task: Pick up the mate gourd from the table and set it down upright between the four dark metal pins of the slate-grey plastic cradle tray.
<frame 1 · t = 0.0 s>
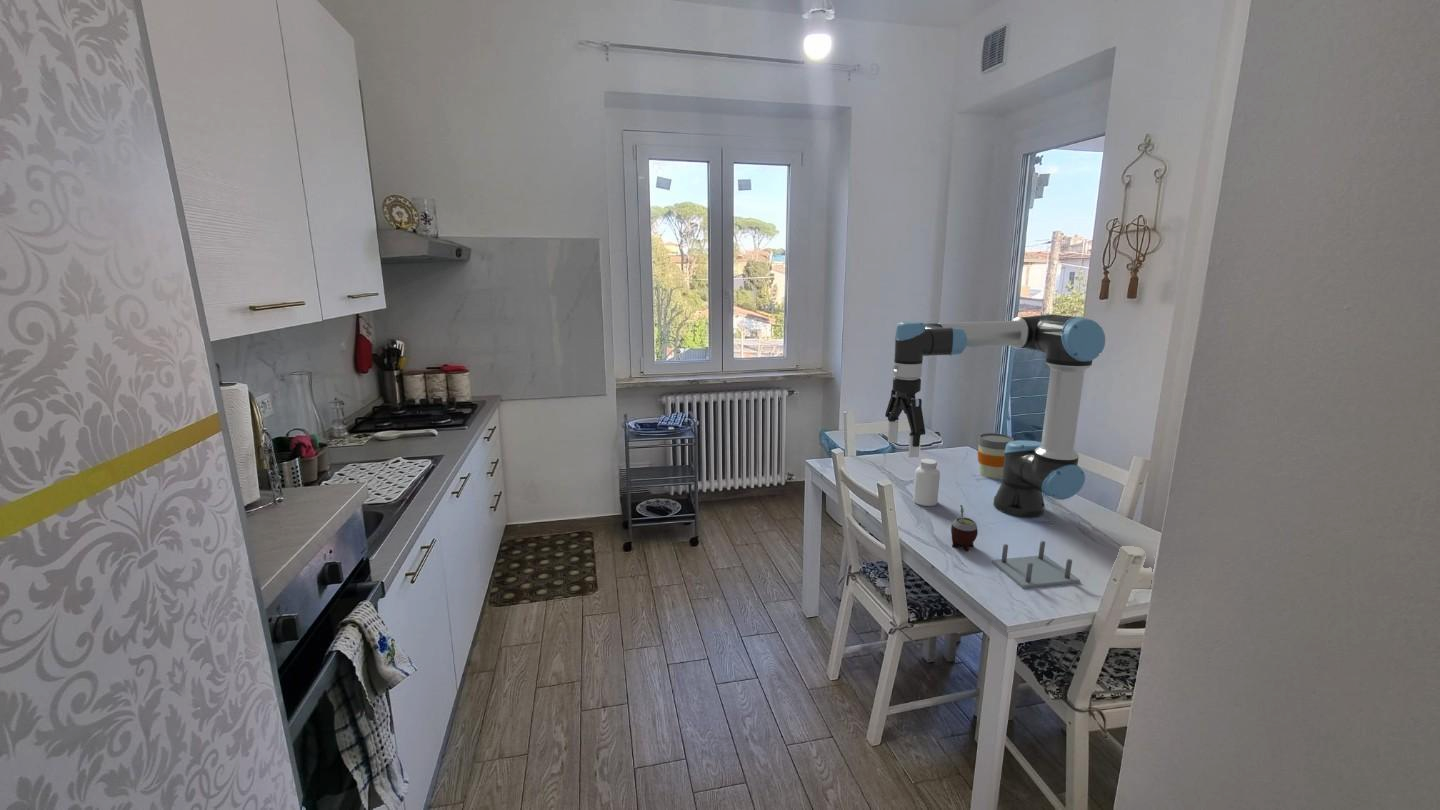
hand: (902, 449, 166), 28 cm above the table, tool pointing down, fingers open, 13 cm apart
cradle tray: (1034, 572, 153), on the table
reusable coffee cup: (992, 475, 222), on the table
mate gourd: (962, 547, 167), on the table
pill bottle: (925, 502, 198), on the table
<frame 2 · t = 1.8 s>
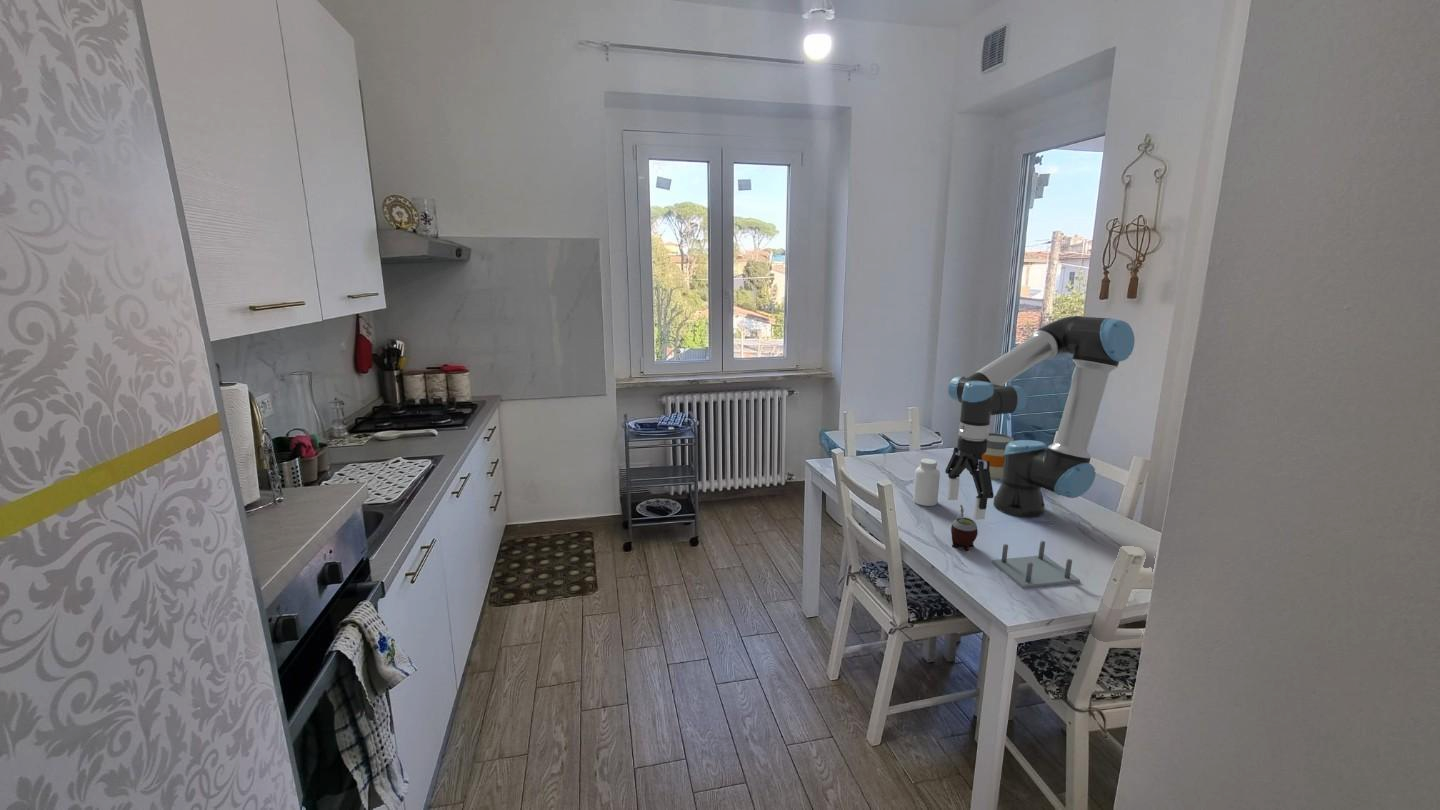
hand: (965, 508, 163), 12 cm above the table, tool pointing down, fingers open, 13 cm apart
nothing on the table moved.
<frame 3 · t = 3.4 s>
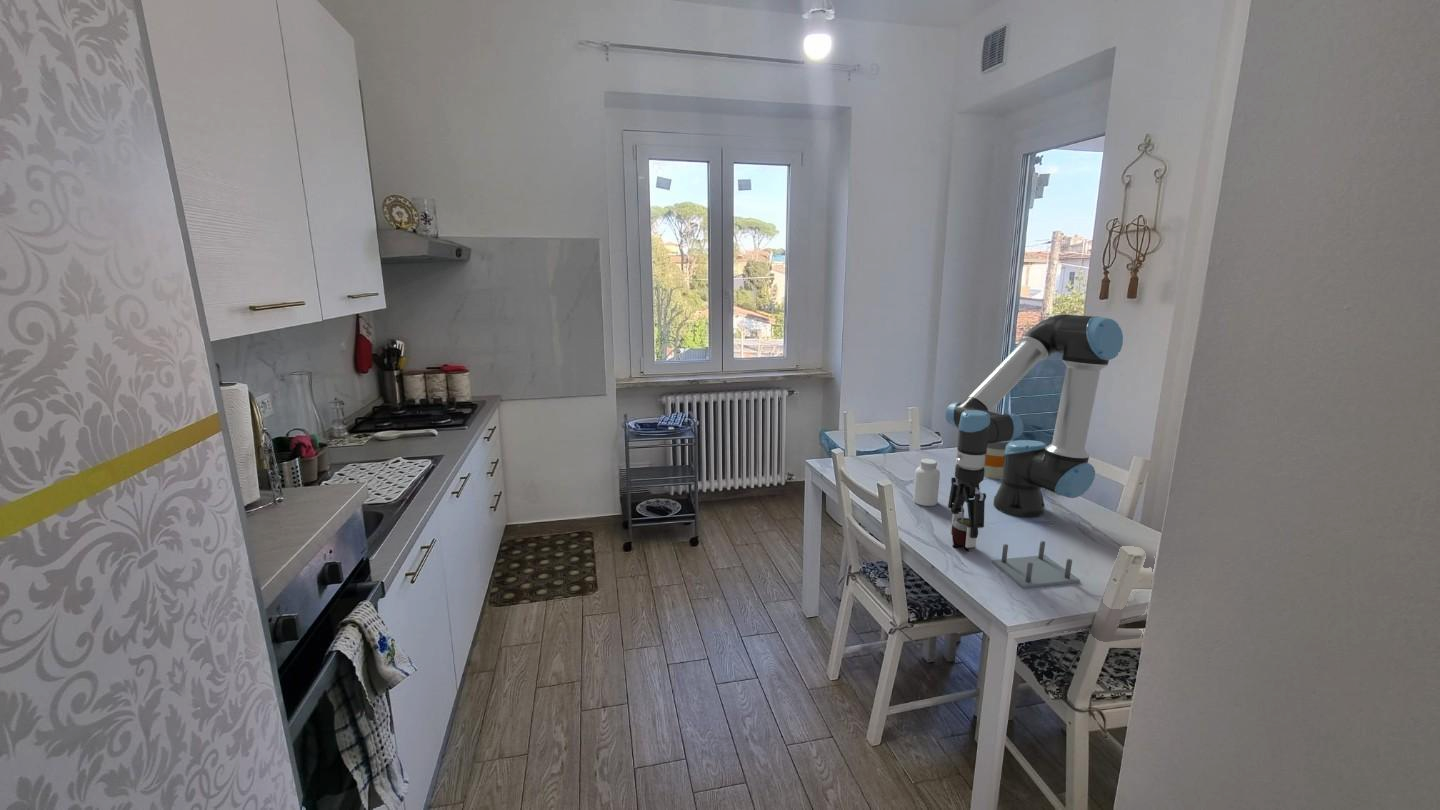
hand: (962, 540, 166), 2 cm above the table, tool pointing down, fingers closed on mate gourd, 7 cm apart
mate gourd: (963, 548, 166), on the table, touching gripper
everything else where it was.
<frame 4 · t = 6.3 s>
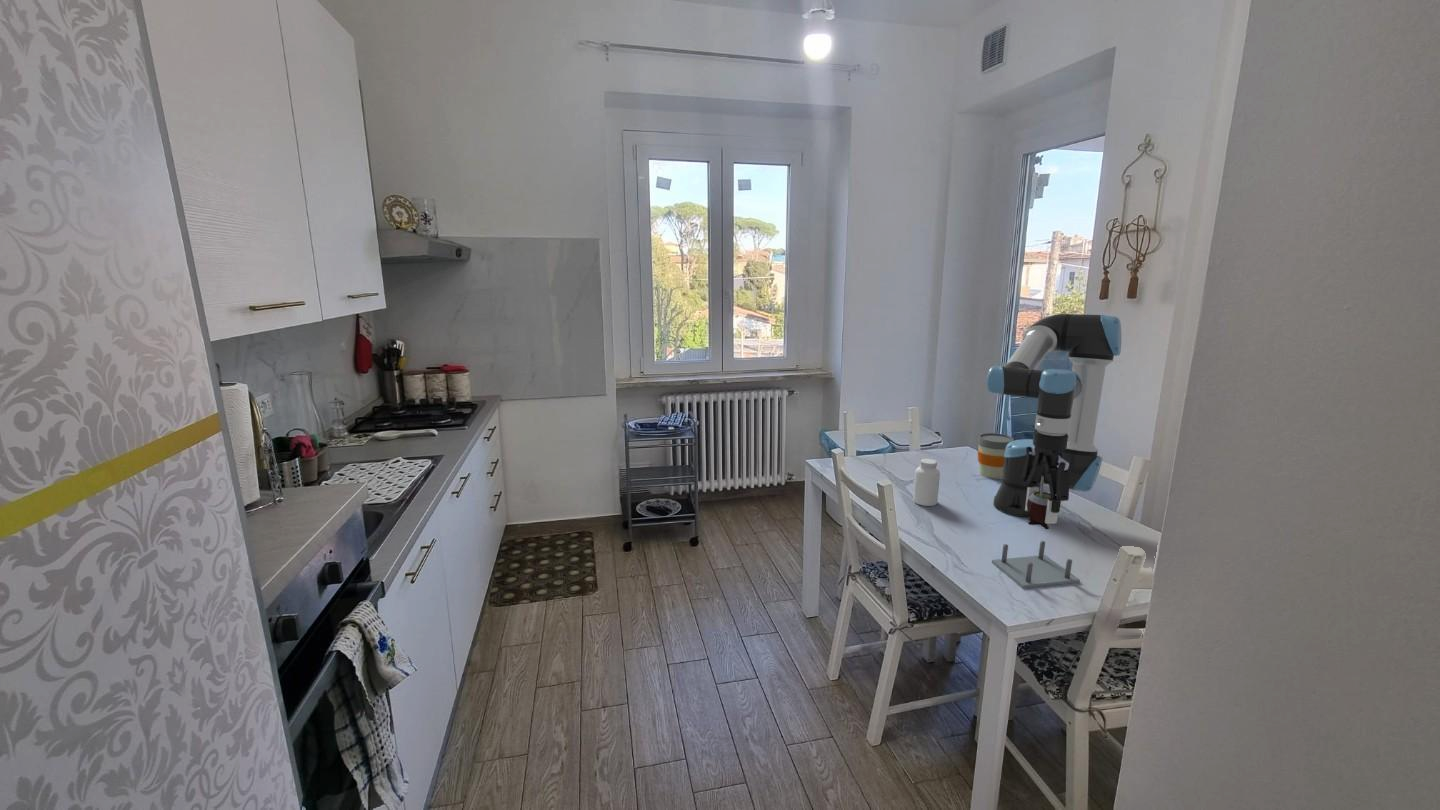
hand: (1040, 516, 149), 16 cm above the table, tool pointing down, fingers closed on mate gourd, 7 cm apart
mate gourd: (1040, 525, 149), point 14 cm above the table, touching gripper
everything else where it was.
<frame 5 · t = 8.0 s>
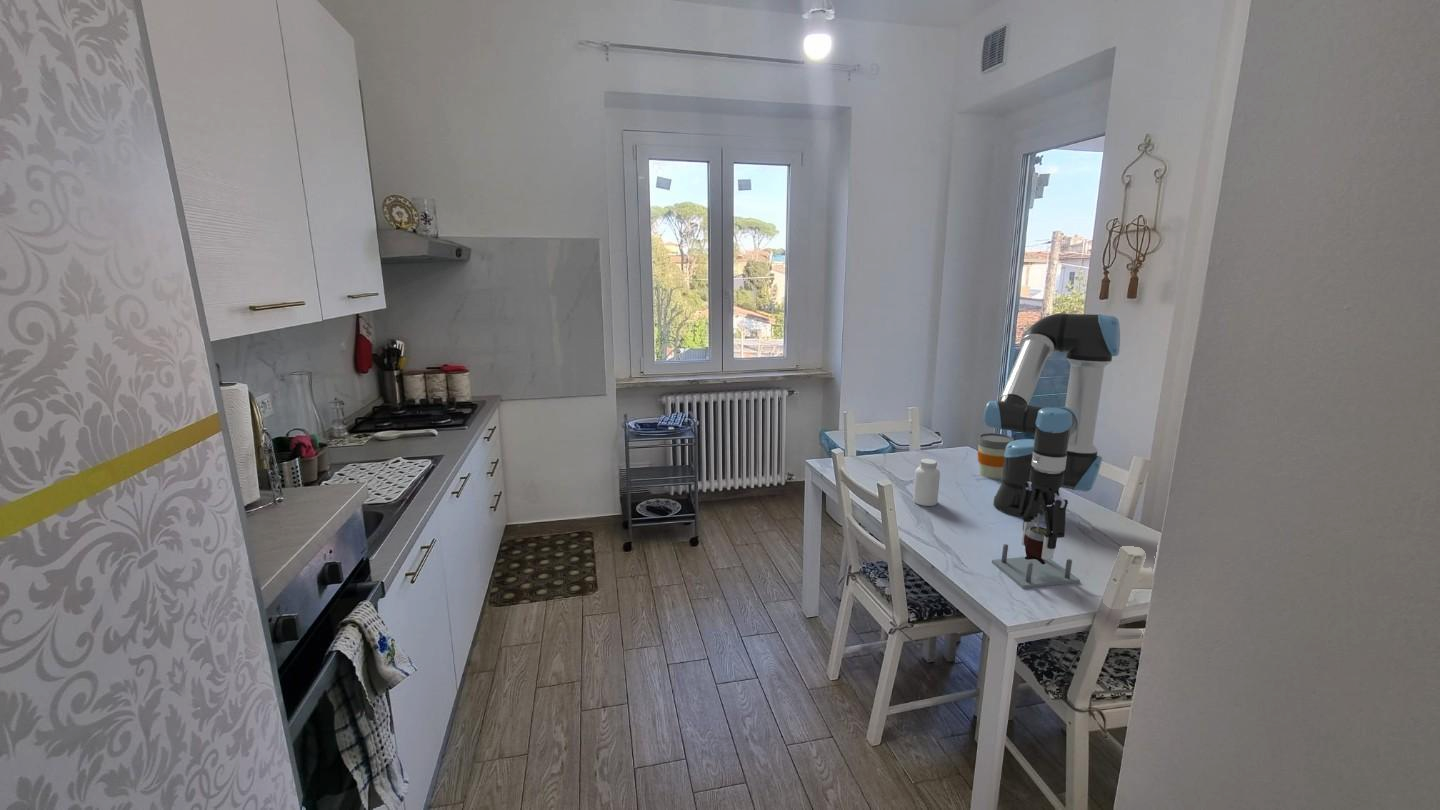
hand: (1036, 551, 151), 6 cm above the table, tool pointing down, fingers closed on mate gourd, 7 cm apart
mate gourd: (1036, 559, 151), point 4 cm above the table, touching gripper
everything else where it was.
when the fingers open (5 cm above the table, at t = 9.2 s): mate gourd drops 2 cm, resting on cradle tray.
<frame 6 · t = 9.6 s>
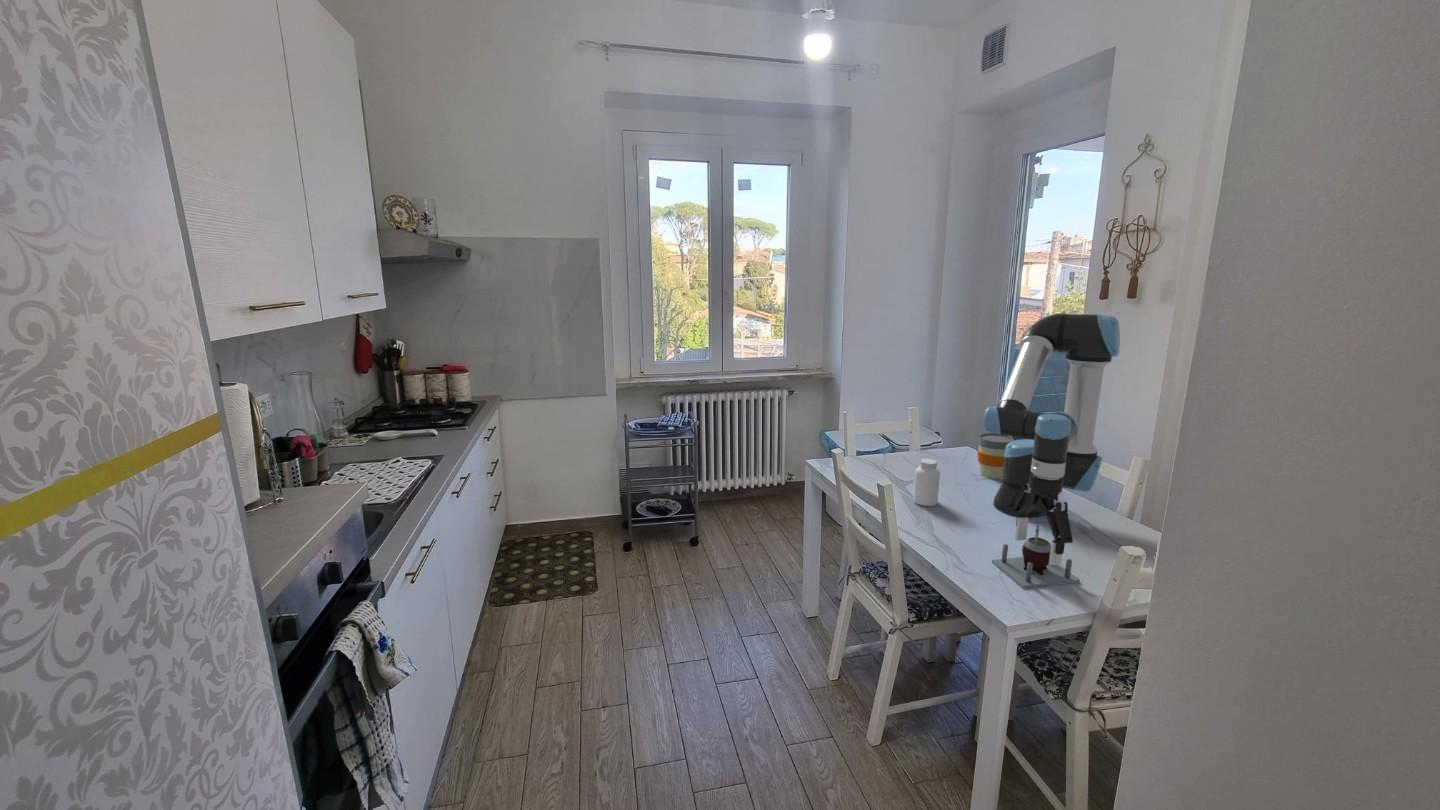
hand: (1036, 551, 151), 6 cm above the table, tool pointing down, fingers open, 13 cm apart
mate gourd: (1035, 570, 152), point 1 cm above the table, touching cradle tray
everything else where it was.
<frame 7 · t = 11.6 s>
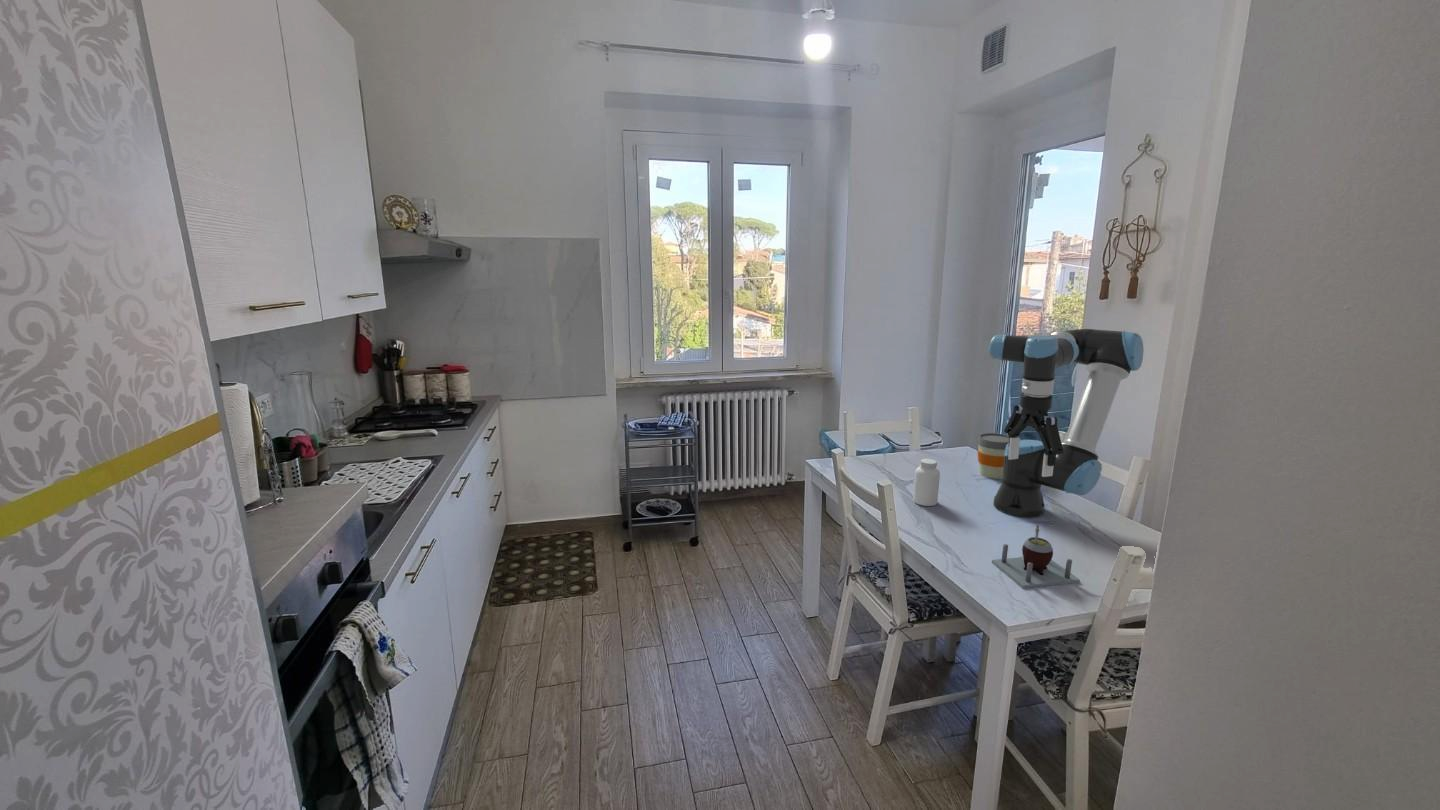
hand: (1029, 467, 161), 24 cm above the table, tool pointing down, fingers open, 13 cm apart
nothing on the table moved.
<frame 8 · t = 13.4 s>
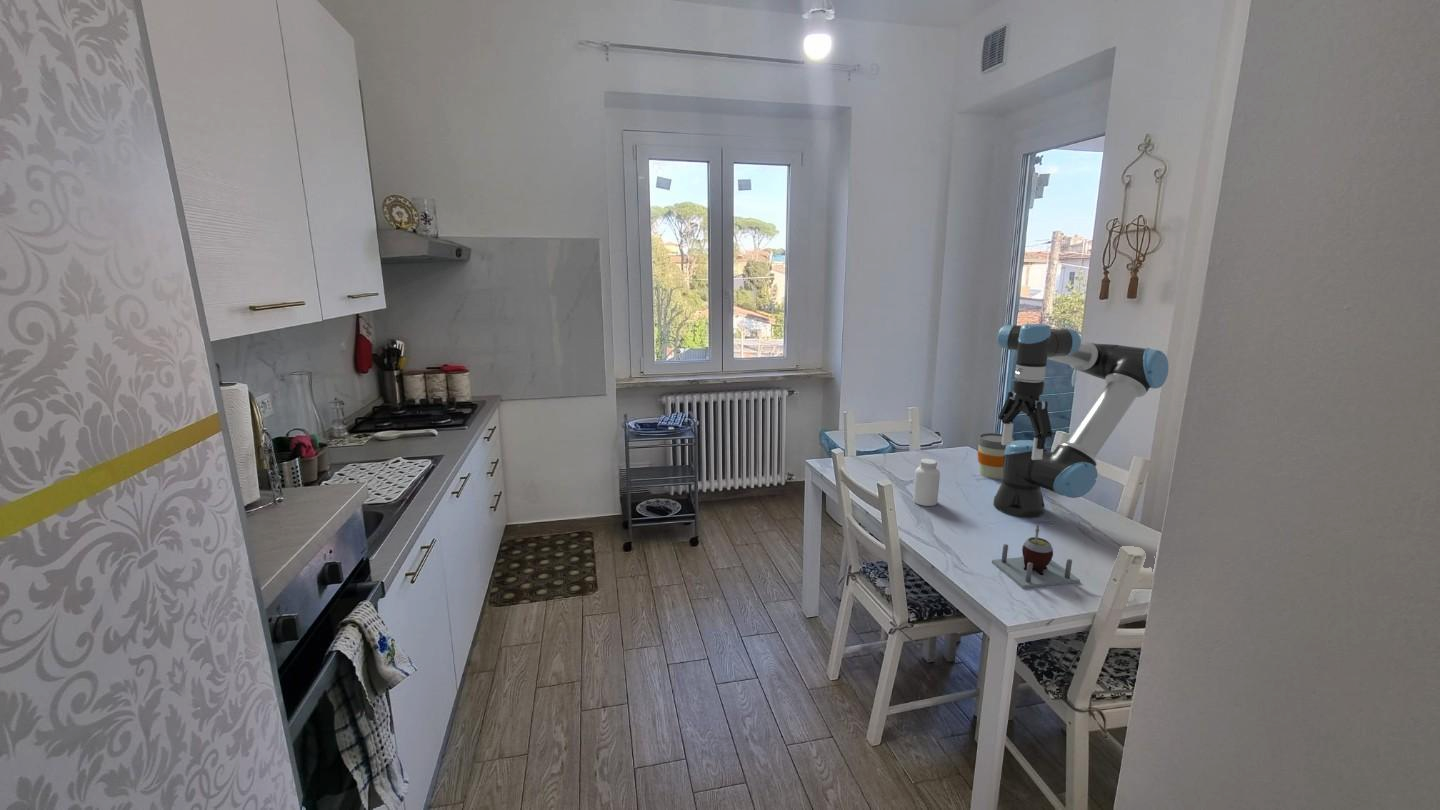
hand: (1020, 451, 166), 27 cm above the table, tool pointing down, fingers open, 13 cm apart
nothing on the table moved.
at the end: mate gourd 0.3 cm off-centre on the cradle tray, point 0.6 cm above the cradle tray's base; mate gourd tilted 0°; the gripper is holding nothing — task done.
